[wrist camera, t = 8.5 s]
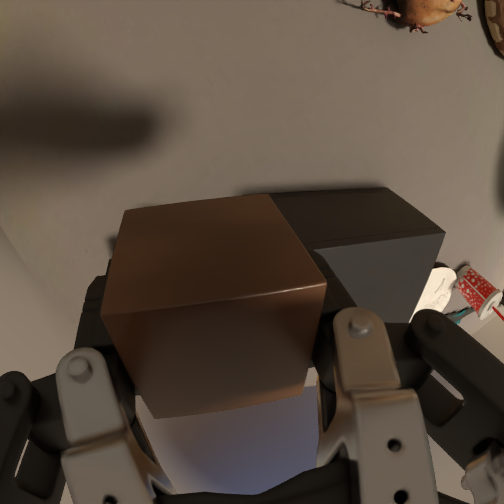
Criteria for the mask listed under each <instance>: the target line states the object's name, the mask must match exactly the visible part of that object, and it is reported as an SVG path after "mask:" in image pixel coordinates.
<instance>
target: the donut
mask: <svg viewBox="0 0 504 504" xmlns="http://www.w3.org/2000/svg"><path fill="white" fill-rule="evenodd" d="M485 15H486V20H487V24H488V27H489V30H490V33H491V36H492V38H493V40H494V43H495V45H496V47H497V48H498V49H499V50H500V52H501V53H502V55H503V56H504V0H485Z"/></svg>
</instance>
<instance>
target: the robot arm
mask: <svg viewBox="0 0 504 504" xmlns="http://www.w3.org/2000/svg"><path fill="white" fill-rule="evenodd" d="M306 250H307V252H308V253H309V255H310V256H311V258H312V259H313V261H314V263H315V264H316V266H317V267H318V269H319V270H320V272H321V273H322V275H323V276H324V278H325V279H326V281H327V287H326V292H325V297H324V302H323V307H322V312H321V316H320V321H319V326H318V330H317V335H316V339H315V343H314V348H313V352H312V356H311V360H310V364H309V368H311V367H315V368H316V370H317V373H318V377H317V381H316V387H317V403H318V423H319V443H318V448H317V456H316V468H314V469H311V470H308V471H304V472H302V473H300V474H298V475H296V476H295V477H293V478H291V479H289V480H287V481H285V482H283V483H281V484H279V485H277V486H275V487H273V488H271V489H269V490H267V491H265V492H263V493H260V494H257V495H240V494H223V493H212V492H198V493H187V494H177V493H176V491H175V489H174V487H173V486H172V484H171V482H170V480H169V479H168V477H167V476H166V474H165V473H164V471H163V469H162V468H161V466H160V464H159V462H158V460H157V458H156V456H155V453H154V451H153V449H152V447H151V444H150V442H149V440H148V438H147V435H146V433H145V430H144V428H143V425H142V423H141V421H140V418H139V416H138V413H137V412H136V409H135V396H136V395H140V394H139V392H138V390H137V389H136V387H135V385H134V383H133V381H132V379H131V378H130V376H129V374H128V372H127V370H126V368H125V366H124V364H123V362H122V360H121V358H120V356H119V354H118V352H117V350H116V348H115V346H114V344H113V342H112V340H111V338H110V336H109V333H108V331H107V329H106V327H105V325H104V322H103V320H102V318H101V315H100V313H101V307H102V302H103V297H104V292H105V287H106V282H107V278H108V273H109V269H110V265H111V260H112V258H111V259H110V260H109V263H108V267H107V271H106V275H103V276H97V277H96V278H95V279H94V280H93V282H92V283H91V284H90V286H89V287H88V289H87V293H86V297H85V302H84V305H83V309H82V310H83V312H82V313H81V317H80V322H79V326H78V331H77V336H76V341H75V346H74V350H72V351H70V352H69V353H67V354H66V355H65V356H64V357H63V358H62V359H61V360H60V362H59V364H58V366H57V369H56V373H54V374H52V375H49V376H46V377H43V378H41V379H38V380H35V381H32V382H30V380H29V379H28V378H27V377H26V376H25V375H24V374H23V373H21V372H18V371H10V372H7V373H5V374H3V375H2V376H1V377H0V504H60V501H61V497H62V493H63V490H64V486H65V483H66V482H67V485H68V488H69V491H70V495H71V498H72V501H73V504H469V503H466V502H464V501H461V500H458V499H456V498H453V497H450V496H448V495H446V494H443V493H441V492H438V491H437V486H436V480H435V473H434V468H433V463H432V456H431V451H430V446H429V441H428V437H427V434H428V435H429V436H430V437H431V438H432V439H433V440H434V441H435V442H436V443H437V444H438V445H439V446H440V447H441V448H443V450H444V451H445V452H446V453H447V454H448V455H449V456H450V457H451V458H452V459H453V460H455V461H456V463H458V464H459V465H460V466H461V467H462V468H463V469H464V470H465V475H464V476H463V477H462V480H461V486H462V488H463V489H465V490H470V491H471V492H472V494H473V497H474V504H504V364H503V363H502V362H501V361H500V360H499V359H497V358H496V357H495V356H494V355H493V354H492V353H490V352H489V351H488V350H487V349H486V348H485V347H483V346H482V345H481V344H480V343H479V342H477V341H476V340H475V339H474V338H473V337H471V336H470V335H469V334H468V333H467V332H465V331H464V330H463V329H462V328H461V327H459V326H458V325H457V324H456V323H454V322H453V321H452V320H451V319H449V318H448V317H447V316H446V315H444V314H443V313H441V312H439V311H436V310H433V309H421V310H419V311H417V312H416V313H415V314H414V315H413V317H412V319H411V321H410V323H387V322H383V321H382V319H381V318H380V317H379V316H378V315H377V314H376V313H374V312H372V311H371V310H368V309H365V308H361V307H358V306H357V305H356V303H355V302H354V300H353V299H352V297H351V296H350V295H349V293H348V292H347V290H346V289H345V287H344V286H343V284H342V283H341V282H340V280H339V279H338V277H336V274H335V273H334V271H333V270H332V269H330V266H329V264H328V263H327V262H326V260H325V259H324V257H323V256H322V255H320V254H319V253H317V252H316V251H314V250H313V249H311V248H309V249H306ZM433 370H436V371H437V372H438V373H439V374H440V375H441V376H442V377H443V378H444V379H445V380H447V381H448V382H449V383H450V384H451V385H452V386H453V387H454V388H455V389H456V390H457V391H459V392H460V393H461V395H462V396H463V398H464V400H460V399H457V398H456V397H454V395H452V394H451V393H450V392H449V391H448V390H447V389H446V388H445V387H444V386H443V385H442V384H440V383H439V382H438V381H437V380H436V379H435V378H434V377H433V376H432V375H431V373H432V371H433ZM27 439H28V440H29V442H28V445H27V447H26V450H25V453H24V456H23V458H22V461H21V464H20V467H19V470H18V473H17V476H16V477H15V471H16V468H17V465H18V462H19V459H20V456H21V454H22V451H23V449H24V446H25V443H26V441H27Z"/></svg>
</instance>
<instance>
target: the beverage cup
mask: <svg viewBox="0 0 504 504" xmlns="http://www.w3.org/2000/svg"><path fill="white" fill-rule="evenodd" d="M456 277H457V279H456V281H455V283H454V286H455V287H456V288H457V289H458V290H459V292H460V293H461V294H462V295H463V296H464V298H465V299H466V300H467V301H468V302H469V304H470V305H471V306H472V307H473V309H474V310H475V311H476V312H477V314H478V317H479V318H480V320H484V319H485V318H487V317H488V316H489V315H490V314H491V313H492V312H493V311H495V312H496V313H497V314H498V315H499V317H500V318H501V319H502V320H503V321H504V317H503V316H502V315H501V314H500V313H499V311H498V310H497V309H496V307H497V306H498V304H499V303H500V301H501V299H502V296H503V292H501V291H500V290H499V289H496V288H495V287H494V286H493V285H491V284H490V283H489V282H488V281H487V280H485V279H484V278H483V277H482V276H481V275H479V274H478V273H477V272H476V271H475V270H473V269H472V268H471V267H470V266H468V265H466V266H464V267H462V268H461V269H460V270H459V271H458V273H457V274H456Z"/></svg>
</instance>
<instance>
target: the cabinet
mask: <svg viewBox="0 0 504 504" xmlns="http://www.w3.org/2000/svg"><path fill="white" fill-rule="evenodd" d="M268 195H269V196H270V198H271V199H272V201H273V202H274V203H275V205H276V206H277V208H278V209H279V211H280V212H281V214H282V215H283V216H284V218H285V219H286V221H287V222H288V224H289V225H290V227H291V228H292V230H293V231H294V233H295V234H296V236H297V237H298V239H299V240H300V241H301V243H302V244H303V246H304V247H305V249H309V248H311V249H313V250H314V251H316V252H317V253H319V254H320V255H322V256H323V257H324V259H325V260H326V262H327V263H328V264H329V266H330V269H332V270H333V271H334V273H335V274H336V277H338V279H339V280H340V282H341V283H342V284H343V286H344V287H345V289H346V290H347V292H348V293H349V295H350V296H351V297H352V299H353V300H354V302H355V303H356V305H357V306H358V307H361V308H365V309H368V310H371V311H372V312H374V313H376V314H377V315H378V316H379V317H380V318H381V319H382V321H383V322H387V323H409V321H410V319H411V317H412V315H413V313H414V311H415V308H416V306H417V304H418V302H419V300H420V297H421V295H422V293H423V291H424V288H425V286H426V283H427V281H428V279H429V276H430V274H431V271H432V269H433V266H434V264H435V261H436V258H437V256H438V253H439V250H440V248H441V245H442V242H443V239H444V236H445V234H446V232H445V231H444V230H442V229H441V228H440V227H439V226H438V225H436V224H435V223H434V222H433V221H431V220H430V219H429V218H428V217H426V216H425V215H424V214H422V213H421V212H420V211H418V210H417V209H416V208H415V207H413V206H412V205H411V204H409V203H408V202H406V201H405V200H404V199H402V198H401V197H400V196H398V195H397V194H395V193H394V192H393V191H391V190H390V189H352V190H328V191H308V192H292V193H277V194H268Z"/></svg>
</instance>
